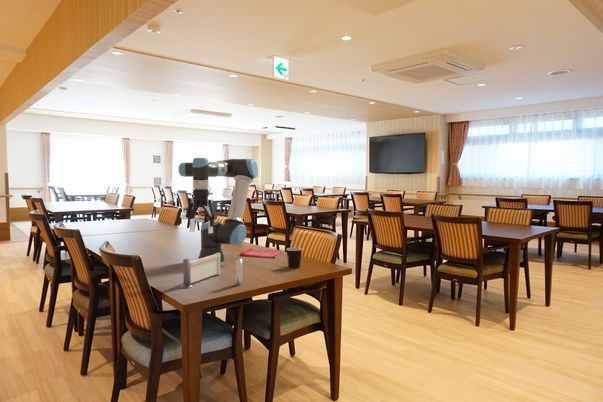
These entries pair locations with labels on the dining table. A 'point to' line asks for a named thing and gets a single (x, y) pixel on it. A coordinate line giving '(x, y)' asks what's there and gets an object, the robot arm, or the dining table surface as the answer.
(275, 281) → the dining table surface
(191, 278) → the gate
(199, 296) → the dining table surface
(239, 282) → the gate posts
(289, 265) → the coffee mug
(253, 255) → the dish towel
